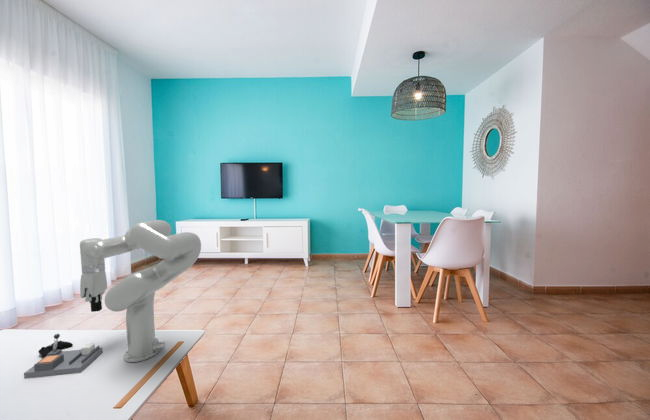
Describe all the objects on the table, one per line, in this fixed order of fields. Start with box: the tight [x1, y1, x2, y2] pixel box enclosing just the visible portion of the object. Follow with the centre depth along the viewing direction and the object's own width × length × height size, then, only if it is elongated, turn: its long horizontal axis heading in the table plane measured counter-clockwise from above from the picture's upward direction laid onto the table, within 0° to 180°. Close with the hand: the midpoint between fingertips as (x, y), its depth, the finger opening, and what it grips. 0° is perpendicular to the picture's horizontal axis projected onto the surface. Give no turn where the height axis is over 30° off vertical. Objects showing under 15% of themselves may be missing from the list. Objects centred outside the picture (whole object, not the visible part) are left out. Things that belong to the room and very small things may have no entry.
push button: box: [38, 355, 59, 364], centre depth 103 cm, size 4×4×2 cm
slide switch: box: [80, 343, 96, 355], centre depth 111 cm, size 3×3×3 cm
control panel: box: [23, 345, 104, 379], centre depth 107 cm, size 18×13×5 cm
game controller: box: [37, 340, 74, 358], centre depth 116 cm, size 10×5×7 cm
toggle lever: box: [53, 333, 61, 351], centre depth 111 cm, size 2×2×6 cm
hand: (96, 310), depth 117 cm, fingers closed
